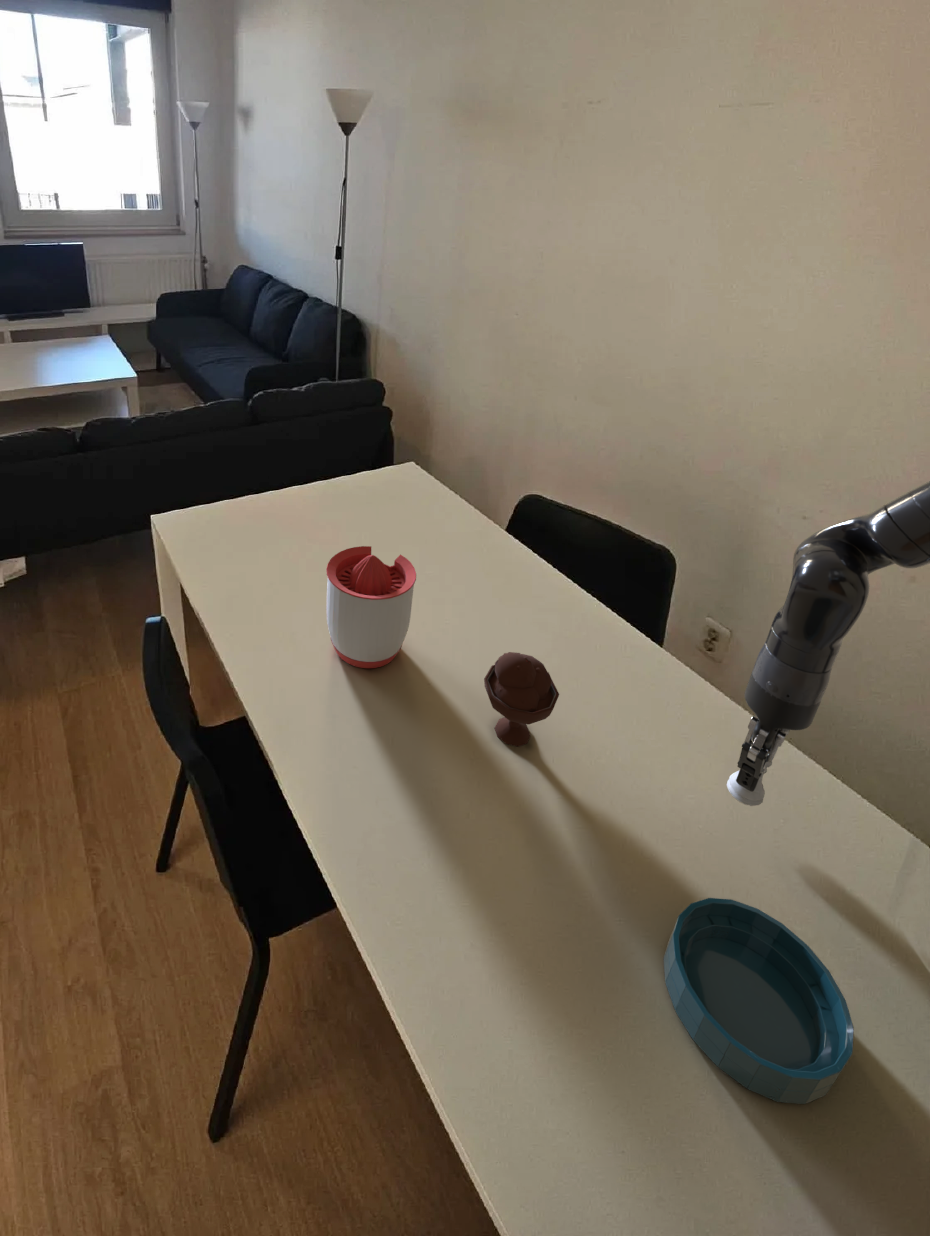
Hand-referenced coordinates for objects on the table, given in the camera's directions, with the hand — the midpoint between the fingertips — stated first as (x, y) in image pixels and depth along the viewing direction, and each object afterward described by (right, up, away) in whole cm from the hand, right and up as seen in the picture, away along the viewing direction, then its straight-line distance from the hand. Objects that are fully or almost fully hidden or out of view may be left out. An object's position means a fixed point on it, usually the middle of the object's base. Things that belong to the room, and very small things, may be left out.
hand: (750, 777), depth 89 cm
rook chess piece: (0, -3, +1) cm, 3 cm away
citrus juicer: (-51, +8, +31) cm, 60 cm away
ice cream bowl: (-29, 0, +14) cm, 32 cm away
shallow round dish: (-13, -15, -19) cm, 27 cm away
